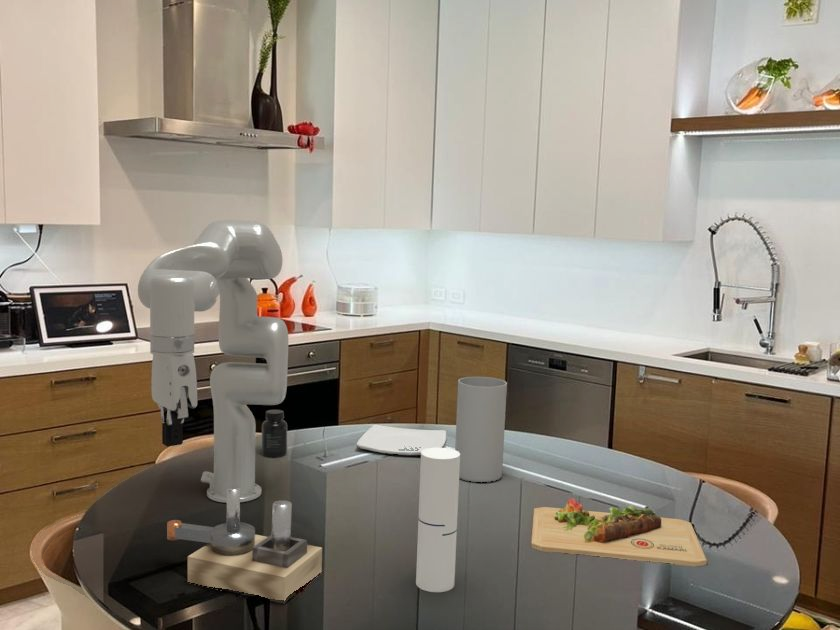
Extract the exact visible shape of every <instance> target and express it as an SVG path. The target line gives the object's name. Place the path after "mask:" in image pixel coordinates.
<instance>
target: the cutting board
mask: <svg viewBox="0 0 840 630" xmlns="http://www.w3.org/2000/svg"><path fill="white" fill-rule="evenodd" d="M608 511H609V512H603V511H602V512H601V511H592V510H584V506H583V504H581V503H579V502H578V501H577V500H576V499H575V498H572V497H571V498H569V499H568V500H567V502H566V504H565V506H564V508H559V507H547V506H540V507H536V508H535V507H534V508H533V514H532V515H533V516H532V517H533V519H532V529H531V530H532V533H531V547H532V548H531V549H534V548H535V549H534V550H536V549H537V550H536V551H539V550H540V552H542V551H543V553H552V552H561V553H560V554H562V553H569V554H568V555H572V554H585V555H591V556H590V557H592V556H600V557H599V558H602V557H612V558H619V559H618V560H623V559H627V560H626V561H633V560H637V561H636V562H643V561H648V562H647V563H653V562H663V563H670V564H669V565H673V564H675V566H683V567H685V566H686V567H693V568H696V567H698V568H699V567H703V566H706V565H707V561H708V560H707V558H706V555H705V553H704V551H703V548H702V546H701V543H700V541H699V539H698V537H697V534H696V532H695V530H694V527H693V525H692V523H691V522H689V521H688V520H683V519H680V518H669V517H660V516H658V515H656V511H653V510H652V509H650V508H646V509H638V508H637V507H635V506H633V505H631V504H630V505H626V507H624V508H623V509H622V510H619V509H618V508H617V507H616V508H615V507H612V506H611V507H609V508H608ZM612 558H611V559H612ZM649 561H650V562H649ZM663 563H662V564H663Z"/></svg>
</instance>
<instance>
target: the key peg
mask: <svg viewBox="0 0 840 630" xmlns="http://www.w3.org/2000/svg"><path fill="white" fill-rule="evenodd" d="M292 503H293V502H291V501H288V500H276V501H274V502H273V503H272V512H271V513H272V516H271V535H272V537H271V549H275V550H280V551H285V552H286V551H287V550H289V549H290V537H291V532H292V531H291V529H292V511H293V509H292V507H293V504H292Z"/></svg>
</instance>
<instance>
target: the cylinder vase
mask: <svg viewBox="0 0 840 630" xmlns="http://www.w3.org/2000/svg"><path fill="white" fill-rule="evenodd" d="M457 381H458V382H457V395H456V397H457V400H456V401H457V402H456V419H455V420H456V422H455V425H456V426H455V444H454V445H455V447H454V448H455V449H454V450H456V451H458V452H459V453H460V470H459V480H463V481H466V482H469V481H471V482H470V483H476V482H481V483H480V484H483V483H482V482H487V483H492V482H491V481H493V482H496V480H497V481H498V480H500V479H501V478H502V477H503V465H504V449H505V448H504V447H505V446H504V445H505V429H506V428H505V426H506V410H507V409H506V407H507V393H508V392H507V389H508V382H507V381H506V380H503V379H500V378H495V377H487V376H466V377H461V378H459V379H458V380H457Z"/></svg>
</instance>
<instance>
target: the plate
mask: <svg viewBox="0 0 840 630" xmlns="http://www.w3.org/2000/svg"><path fill="white" fill-rule="evenodd" d="M446 441H447V431H446V430H443V429H441V430H440V429H438V430H437V429H436V430H435V429H431V430H430V429H413V428H404V427H394V426H387V425H381V424H380V425H379V424H373V425H372V426H371V427H370V428H369V429H368V430H367V431H365V433H364V434H363V435H362V436H361V437H360V438H359V439H358V441H357V442H356V446H357V447H358V448H359V449H363V450H367V451H372V452H376V453H377V452H378V453H380V454H386V453H387V455H393V454H398V455H397V456H421V451H422V450H424V449H427V448H438V447H439V448H444V446H445V443H446ZM404 446H405V447H406V448H407V449H409V450H411V449H410V448H411V447H412V448H413V449H414V451H406V450H405V451H399V450H398V449H404V448H405V447H404ZM409 446H410V447H409ZM415 447H417V448H418V449H419V450H418V451H415V450H417V449H415ZM419 447H421V448H419Z"/></svg>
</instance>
